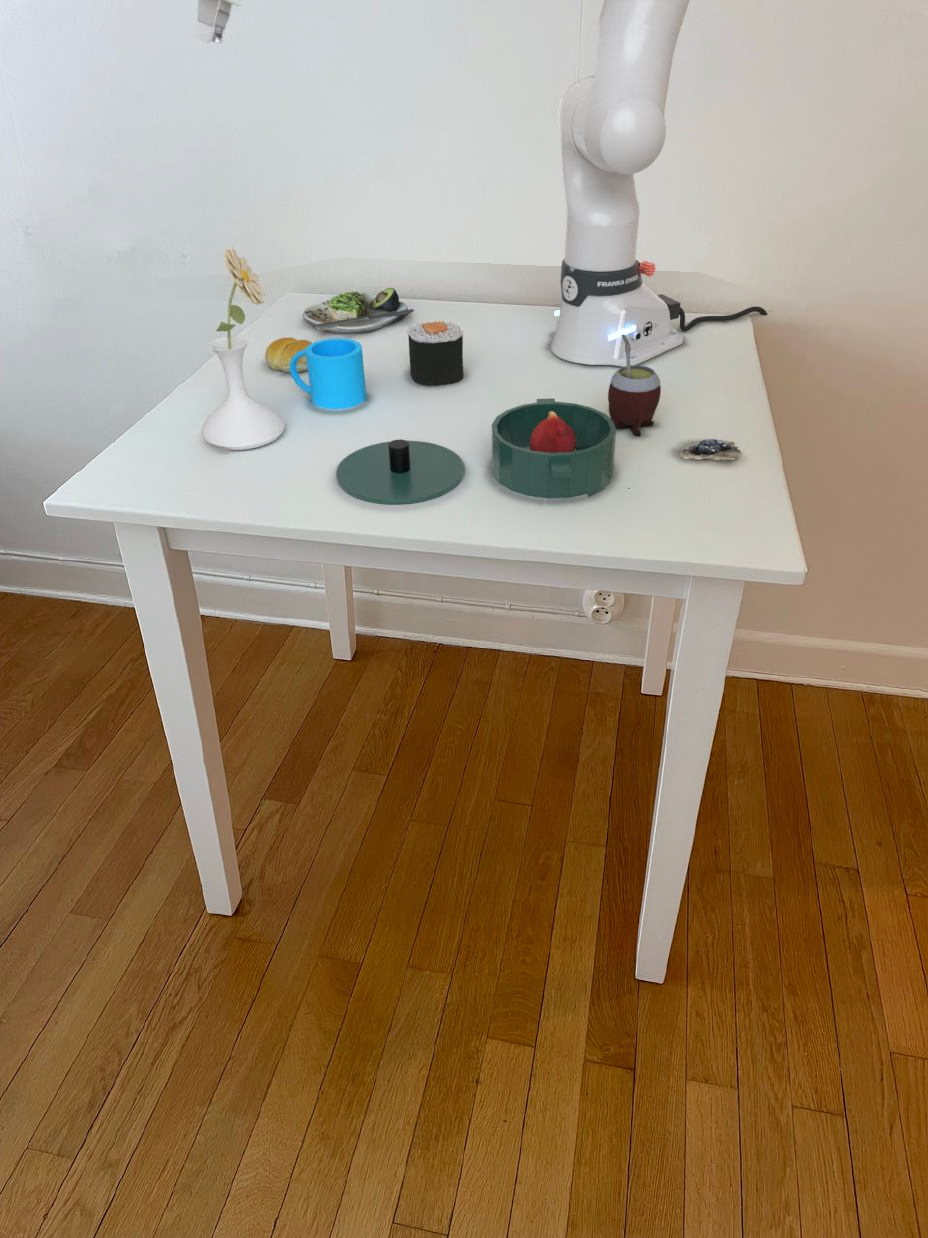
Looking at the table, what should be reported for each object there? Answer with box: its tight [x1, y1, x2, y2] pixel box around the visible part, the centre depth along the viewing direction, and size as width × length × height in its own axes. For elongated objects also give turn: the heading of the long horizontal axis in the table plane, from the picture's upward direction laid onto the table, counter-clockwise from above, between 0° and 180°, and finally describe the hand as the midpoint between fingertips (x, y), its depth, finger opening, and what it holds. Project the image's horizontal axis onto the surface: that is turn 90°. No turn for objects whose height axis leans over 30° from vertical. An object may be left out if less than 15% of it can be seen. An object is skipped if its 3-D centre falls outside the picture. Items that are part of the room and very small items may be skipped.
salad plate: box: [302, 287, 415, 334], centre depth 169 cm, size 19×18×5 cm
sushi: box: [406, 320, 464, 387], centre depth 147 cm, size 8×8×8 cm
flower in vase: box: [200, 246, 286, 451], centre depth 126 cm, size 13×11×25 cm
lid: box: [335, 439, 465, 505], centre depth 121 cm, size 16×16×5 cm
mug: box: [289, 337, 367, 410], centre depth 140 cm, size 12×8×8 cm
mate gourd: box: [607, 334, 662, 437], centre depth 128 cm, size 8×8×15 cm
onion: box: [529, 411, 576, 453], centre depth 120 cm, size 6×6×8 cm
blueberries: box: [678, 438, 742, 463], centre depth 125 cm, size 7×8×2 cm
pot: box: [491, 397, 617, 499], centre depth 121 cm, size 15×21×6 cm
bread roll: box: [264, 337, 313, 373], centre depth 153 cm, size 8×9×4 cm
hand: (208, 41), depth 114 cm, fingers open, 8 cm apart
